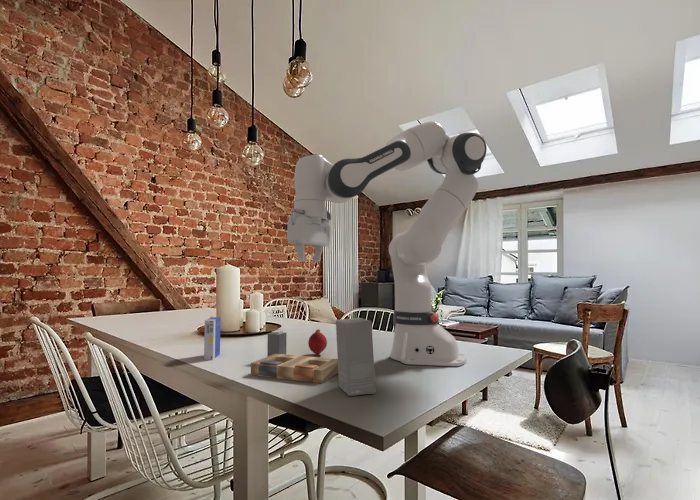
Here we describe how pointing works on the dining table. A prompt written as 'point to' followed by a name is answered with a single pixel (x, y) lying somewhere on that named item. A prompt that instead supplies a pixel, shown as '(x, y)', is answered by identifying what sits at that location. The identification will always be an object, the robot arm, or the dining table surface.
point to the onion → (317, 342)
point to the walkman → (212, 338)
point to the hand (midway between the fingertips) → (309, 261)
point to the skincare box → (355, 356)
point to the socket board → (296, 367)
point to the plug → (276, 343)
